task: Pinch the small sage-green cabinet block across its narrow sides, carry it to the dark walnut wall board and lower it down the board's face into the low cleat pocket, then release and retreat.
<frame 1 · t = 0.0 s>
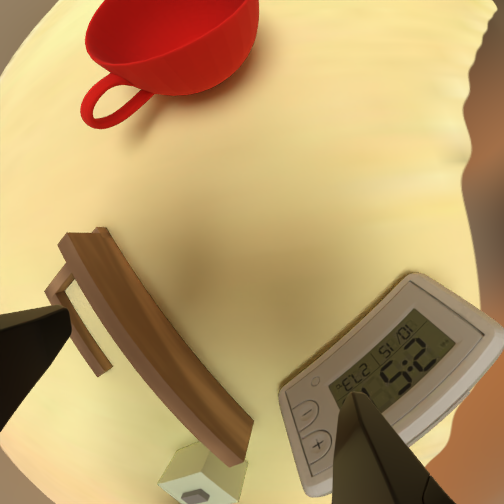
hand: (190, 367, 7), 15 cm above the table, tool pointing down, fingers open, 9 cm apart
cabinet block: (211, 457, 24), on the table
digital clock: (362, 351, 22), on the table
wall board: (140, 359, 24), on the table
ceramic cup: (188, 79, 23), on the table
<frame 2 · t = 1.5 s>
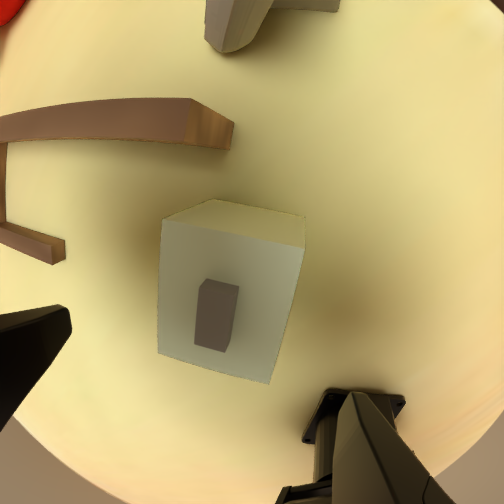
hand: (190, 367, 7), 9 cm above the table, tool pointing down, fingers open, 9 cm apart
cabinet block: (248, 259, 16), on the table
wall board: (72, 192, 17), on the table
ceramic cup: (14, 12, 13), on the table
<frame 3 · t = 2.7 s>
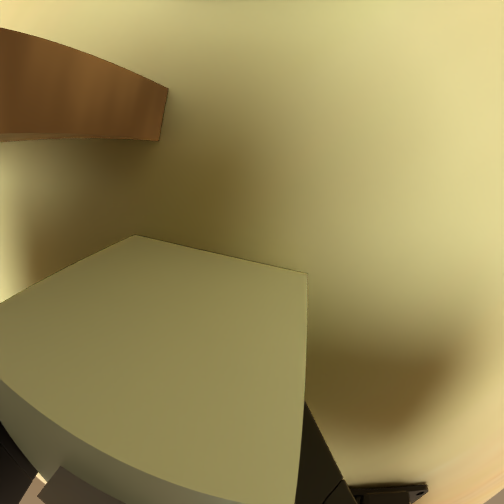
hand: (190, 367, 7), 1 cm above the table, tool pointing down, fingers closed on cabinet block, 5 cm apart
cabinet block: (203, 343, 9), on the table, touching gripper
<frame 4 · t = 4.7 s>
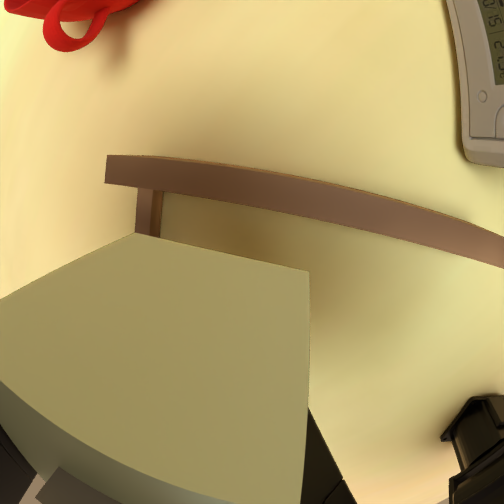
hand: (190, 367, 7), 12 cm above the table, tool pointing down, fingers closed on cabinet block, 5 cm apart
cabinet block: (204, 342, 8), point 11 cm above the table, touching gripper
digital clock: (479, 68, 12), on the table
wall board: (306, 261, 18), on the table
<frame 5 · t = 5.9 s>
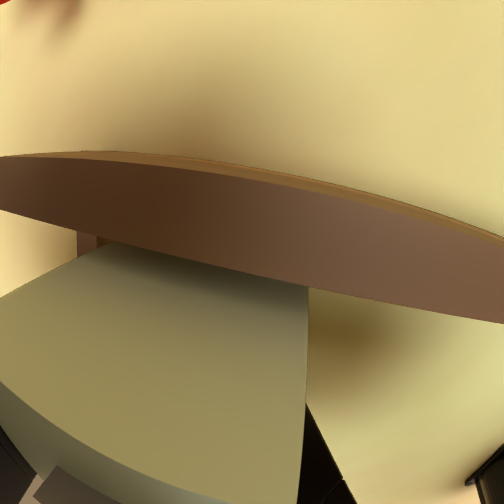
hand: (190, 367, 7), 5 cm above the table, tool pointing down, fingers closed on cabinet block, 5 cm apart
cabinet block: (203, 341, 8), point 3 cm above the table, touching gripper
wall board: (346, 322, 11), on the table
when the fingers open (2 cm above the table, at t = 6.7 s): cabinet block drops 1 cm, on the table.
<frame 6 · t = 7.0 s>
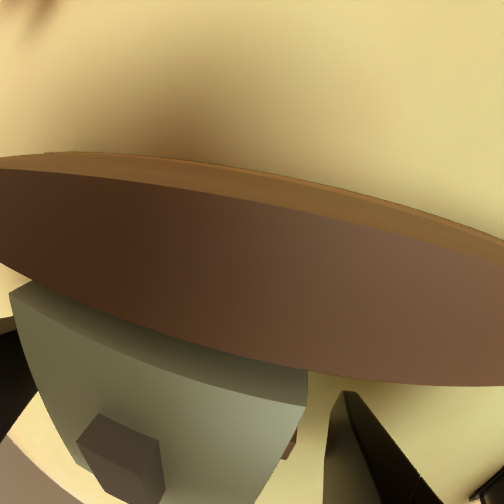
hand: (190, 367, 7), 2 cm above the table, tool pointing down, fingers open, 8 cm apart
cabinet block: (216, 320, 10), on the table
wall board: (353, 353, 9), on the table
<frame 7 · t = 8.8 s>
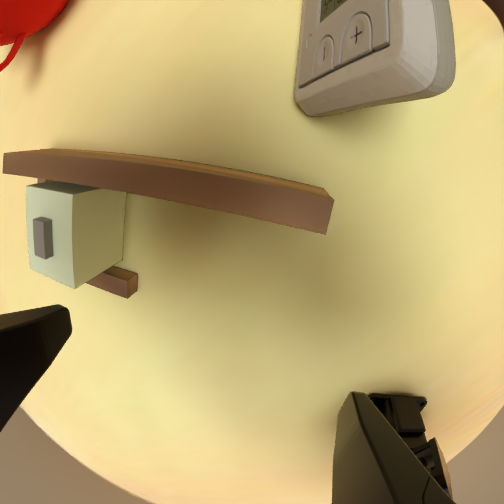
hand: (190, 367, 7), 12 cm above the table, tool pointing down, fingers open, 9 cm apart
cabinet block: (100, 216, 20), on the table
digital clock: (345, 20, 13), on the table
wall board: (151, 230, 20), on the table
ceramic cup: (50, 18, 15), on the table
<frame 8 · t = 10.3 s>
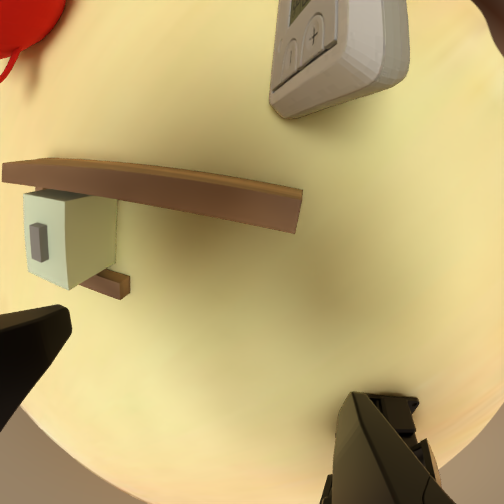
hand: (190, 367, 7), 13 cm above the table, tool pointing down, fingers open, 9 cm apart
cabinet block: (94, 222, 21), on the table
digital clock: (321, 22, 14), on the table
wall board: (141, 234, 21), on the table
ceramic cup: (44, 31, 17), on the table
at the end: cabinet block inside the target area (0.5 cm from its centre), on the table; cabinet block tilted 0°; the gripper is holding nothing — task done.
